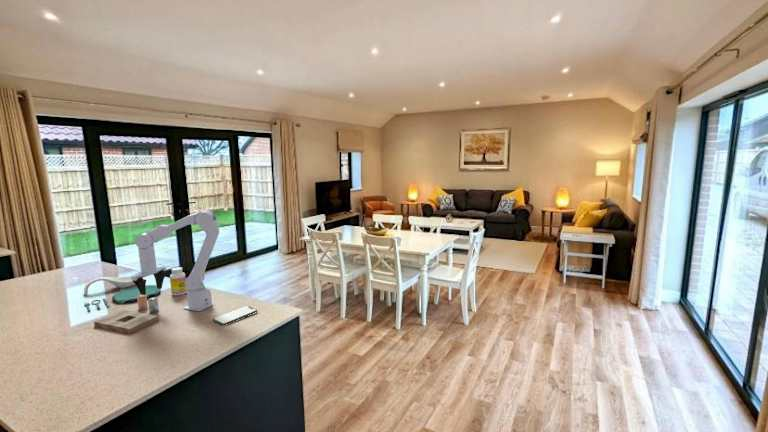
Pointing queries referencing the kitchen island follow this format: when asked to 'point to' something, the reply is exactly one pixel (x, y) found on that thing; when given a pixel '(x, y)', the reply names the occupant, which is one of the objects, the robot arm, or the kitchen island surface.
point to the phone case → (234, 315)
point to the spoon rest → (112, 282)
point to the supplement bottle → (178, 281)
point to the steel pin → (153, 305)
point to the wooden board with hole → (120, 324)
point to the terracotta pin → (142, 302)
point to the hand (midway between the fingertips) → (151, 291)
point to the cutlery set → (128, 295)
